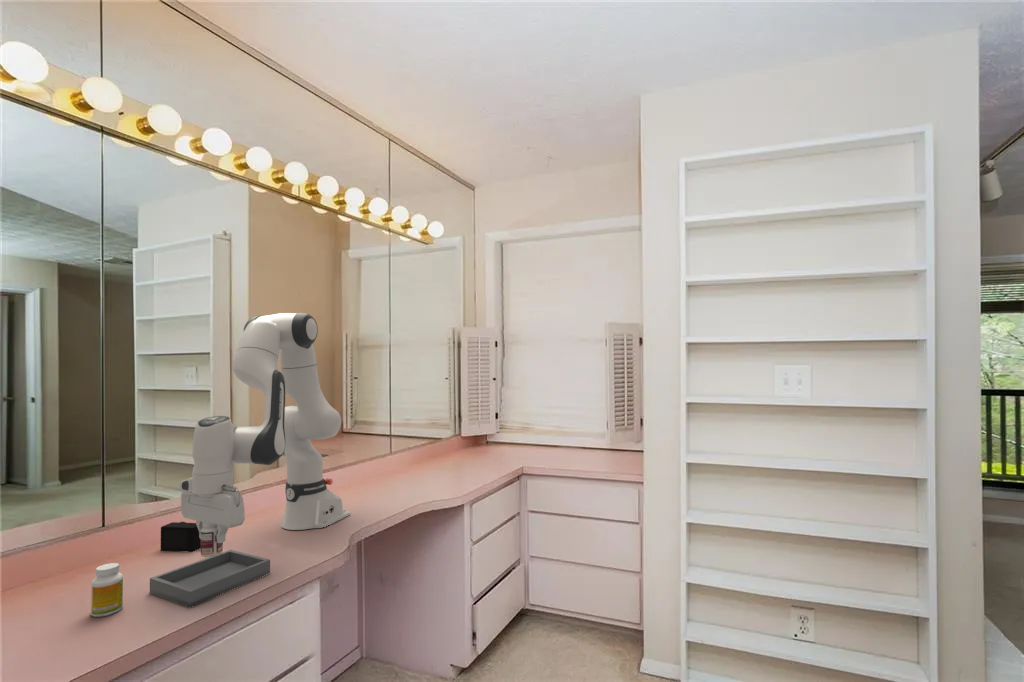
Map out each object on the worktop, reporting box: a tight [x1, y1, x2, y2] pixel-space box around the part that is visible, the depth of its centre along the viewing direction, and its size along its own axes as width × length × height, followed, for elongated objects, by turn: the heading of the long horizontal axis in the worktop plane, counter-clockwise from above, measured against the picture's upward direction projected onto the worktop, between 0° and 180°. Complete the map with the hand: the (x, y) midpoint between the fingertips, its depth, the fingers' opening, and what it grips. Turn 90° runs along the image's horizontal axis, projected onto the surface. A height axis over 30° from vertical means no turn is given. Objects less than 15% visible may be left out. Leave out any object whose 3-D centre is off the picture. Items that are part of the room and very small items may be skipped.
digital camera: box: [160, 521, 201, 553], centre depth 149 cm, size 10×5×7 cm, turn 83°
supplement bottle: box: [90, 562, 124, 618], centre depth 111 cm, size 5×5×10 cm
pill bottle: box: [200, 521, 224, 558], centre depth 125 cm, size 5×5×8 cm
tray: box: [149, 549, 271, 608], centre depth 125 cm, size 20×16×4 cm
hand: (212, 540), depth 125 cm, fingers closed on pill bottle, 5 cm apart
